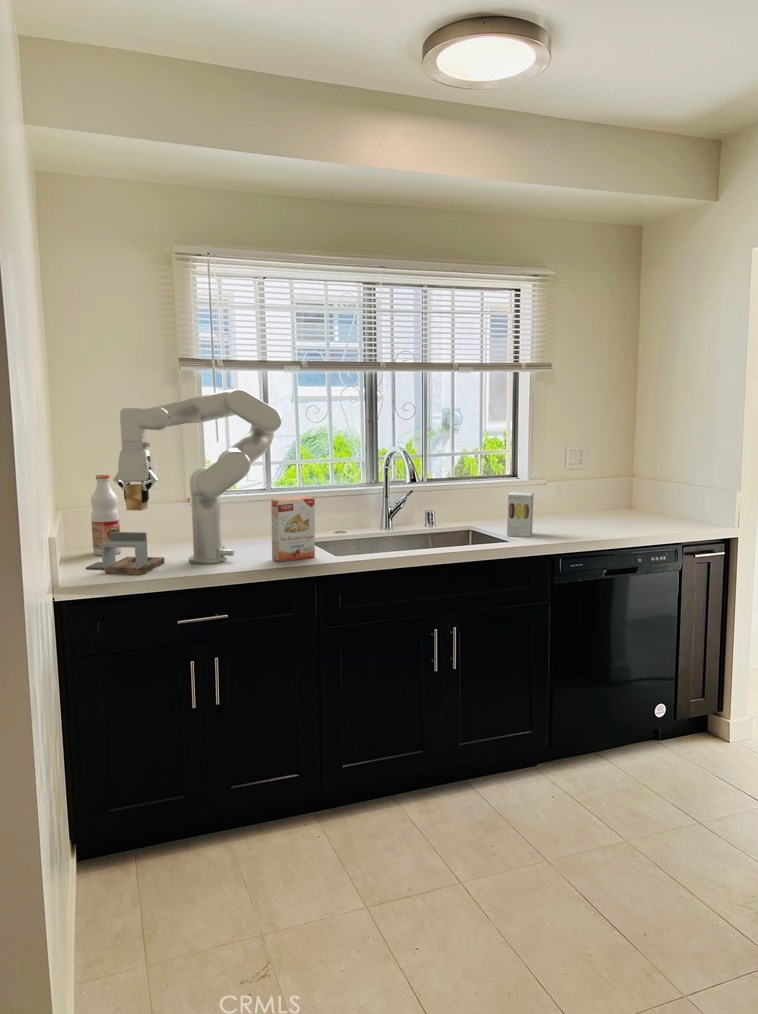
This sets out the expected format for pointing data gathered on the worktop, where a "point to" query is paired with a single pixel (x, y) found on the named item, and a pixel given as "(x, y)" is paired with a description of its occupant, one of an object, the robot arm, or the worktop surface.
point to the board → (134, 565)
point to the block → (134, 497)
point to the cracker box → (293, 528)
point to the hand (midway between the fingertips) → (136, 501)
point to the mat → (96, 566)
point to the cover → (125, 540)
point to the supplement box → (520, 514)
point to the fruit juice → (104, 514)
